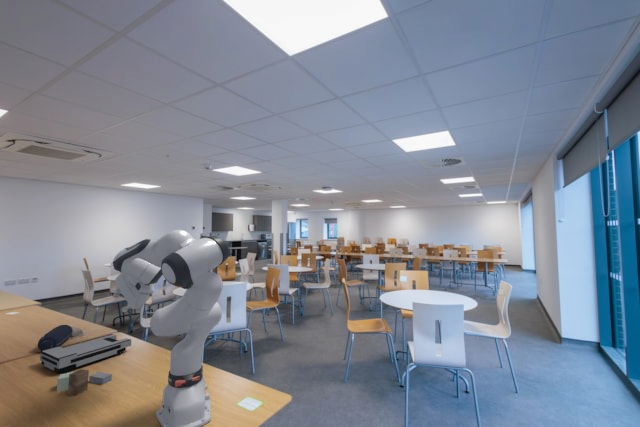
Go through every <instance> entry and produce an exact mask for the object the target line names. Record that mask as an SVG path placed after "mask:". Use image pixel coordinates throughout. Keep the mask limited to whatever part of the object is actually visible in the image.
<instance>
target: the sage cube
mask: <svg viewBox="0 0 640 427" xmlns="http://www.w3.org/2000/svg"><path fill="white" fill-rule="evenodd" d="M73 372H74V371H71V372H68V373H65V374H62V373H60V374H59V376H58V378H57V383H56V385H57V386H56V392H61V391H64V390H68V384H69V374H71V373H73Z"/></svg>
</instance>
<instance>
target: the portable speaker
mask: <svg viewBox="0 0 640 427" xmlns="http://www.w3.org/2000/svg"><path fill="white" fill-rule="evenodd" d="M71 327H72V326H70V325H68V324H60V325H58V326H56V327H53V328H52V329H51V330H49V331H48V332H47V333H45V334H44V335H42V337H40V339H39V340H38V342H37V349H39V350H40V351H41V350H45V349H48V348H52V347H56V346H60V347H61V345H63V344H64V343H65V342H66V341H67V340H69V339H68V338H69V337H70V336H71V334H72V331H73V330H72V328H71Z"/></svg>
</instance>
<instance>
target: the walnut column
mask: <svg viewBox="0 0 640 427" xmlns="http://www.w3.org/2000/svg"><path fill="white" fill-rule="evenodd" d="M72 372H73V373H71V374H69V384H68V389H67V395H69V396H73V397H74V396H75V397H76V396H77V397H78V396H79V395H81V394H82V393H85V392H87V391H88V389H89V388H88V387H89V376H90V374H89V373H90V370H89V369H88V370H87V369H82V368H80V369H77V370H75V371H72Z"/></svg>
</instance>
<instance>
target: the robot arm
mask: <svg viewBox="0 0 640 427" xmlns="http://www.w3.org/2000/svg"><path fill="white" fill-rule="evenodd" d="M229 256H230V249H229V246H228V243H227V242H226V240H224V239H223V238H222V237H220V236H218V235H209V236H208V235H201V236H200V237H199V238H198V239H197V238H194V237H193V235H192V234H190V233H189V231H186V230H183V229H174V230H171V231H169V232H167V233H166V234H164V235H162V237H160V238H157V239H151V238H149V239H148V238H145V239H143V240H141V241H138V242H136V243H135V244H133V245H130V246H129V247H124V248H123V249H121V250H120V251H119V252H118V253H117V254H116V255H115V256H114V258H113V260H112V267H113V269H114V270H115V271H117V272H120V274H118V276H117V277H115V279H114V282H115V285H116V288H115V292H114V293H113V294H112V296H113V298H114V299H118V298H119V297H120V295H121V294H122V296H123V297H124V299H125V300H126V302H127V304H126V306H122V307H121V312H122V313H126V312H127V311H128V310H129V309H131V310H140V309H142V308H143V306H144V305H145V304H146V303H147V301H148V300H149V298H150V294H151V295H152V294H153V293H154V292H155V287H154V284H157V283H158V281H159V280H160V278H161V277H162V276H163V277H164V279H165V280H166V281H167V282H168V283H169V284H170V285H173V286H175V287H177V288H182V289H184V290H185V292H184V293H183V295H182V296H181V297H180V298H178V299H177V300H175V301H173V302H172V303H170V304H168V305H165V306H163V307H160V308H158V309H156V310H155V311H154V312H153V313H152V315H151V317H150V321H149V328H150V330H151V332H152V334H153V335H154V336H156V337H173V336H178V335H182V334H186V336H185V337H184V338H183V339H182V340H180V341H179V342H178V343H176V345H175V346H173V348H172V350H171V352H170V364H169V365H170V366H169V371H168V375H167V380H168V381H167V385H166V386H165V387H164V388H163V389H162V401H161V402H162V404H161V408H160V409H158V410H157V411H156V412H155V417H156V418H157V420H158V421H159V423H160V425H161V426H162V427H203V426H205V425H207V424H208V423H209V422H211V420H212V405H211V403H212V402H211V400H210V399H211V396H210V395H211V394H210V392H205V391H206V390H208V385H207V384H206V378H205V377H204V368H203V365H202V361H203V351H204V346H205V342H206V340H207V338H208V336H209V334H210V333H211V331H212V330H213V329H214V328H215V327H216V326H217V325H219V323H220V321H221V319H222V317H223V316H222V314H223V310H222V307H221V305H220V303H219V302H218V300H219V298H220V296H221V293H222V291H223V288H224V286H223V284H224V283H223V278H222V277H221V276H220V275H219V274H218V273H216V272H214V271H213V270H214V269H216V267H218V266H221V265H222V264H224V263H225V262H226V261H227V260H228V258H229ZM120 293H121V294H120Z"/></svg>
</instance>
